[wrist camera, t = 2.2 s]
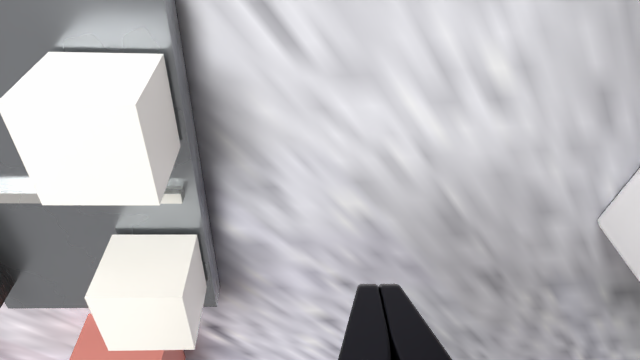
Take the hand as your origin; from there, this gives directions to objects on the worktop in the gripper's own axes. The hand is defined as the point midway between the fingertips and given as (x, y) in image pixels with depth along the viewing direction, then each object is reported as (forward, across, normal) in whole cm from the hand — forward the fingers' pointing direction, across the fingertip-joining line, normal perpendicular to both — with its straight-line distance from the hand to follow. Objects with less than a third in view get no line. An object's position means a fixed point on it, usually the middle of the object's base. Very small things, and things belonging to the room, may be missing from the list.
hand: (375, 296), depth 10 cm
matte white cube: (+8, +8, +8) cm, 14 cm away
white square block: (+8, +8, 0) cm, 11 cm away
